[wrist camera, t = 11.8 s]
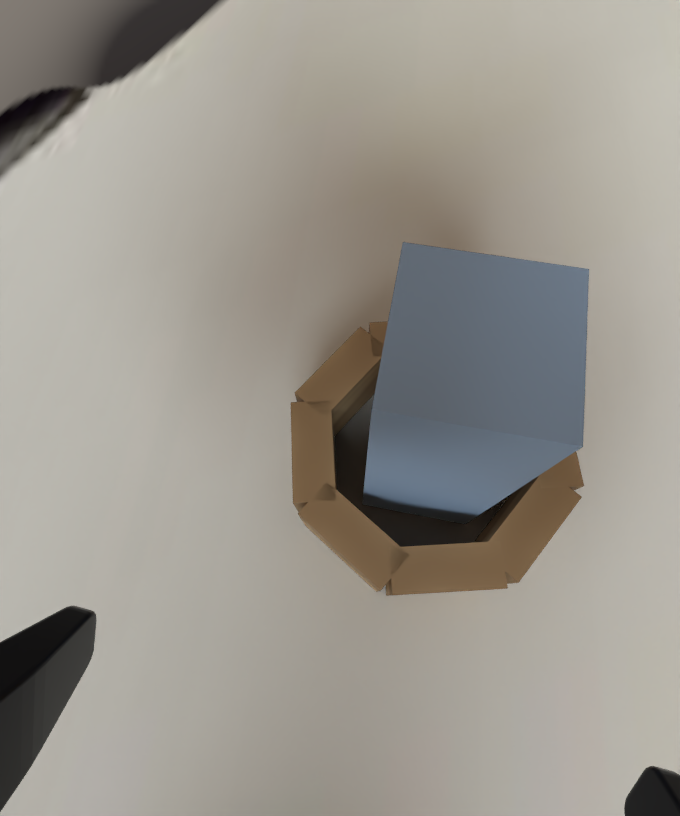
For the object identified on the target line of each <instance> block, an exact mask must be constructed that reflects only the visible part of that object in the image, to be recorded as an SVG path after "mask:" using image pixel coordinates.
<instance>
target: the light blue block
mask: <svg viewBox="0 0 680 816" xmlns="http://www.w3.org/2000/svg"><path fill="white" fill-rule="evenodd" d="M588 281H589V269H584V268H578V267H571V266H564V265H557V264H550V263H543V262H536V261H529V260H522V259H516V258H509V257H502V256H495V255H488V254H481V253H474V252H467V251H460V250H454V249H447V248H440V247H433V246H426V245H419V244H412V243H405V242H403V245H402V250H401V255H400V261H399V266H398V271H397V277H396V282H395V287H394V293H393V298H392V303H391V309H390V314H389V319H388V325H387V330H386V335H385V341H384V346H383V351H382V357H381V362H380V368H379V373H378V378H377V384H376V389H375V394H374V400H373V405H372V411H371V421H370V431H369V441H368V451H367V461H366V471H365V481H364V491H363V501H362V504H363V505H368V506H374V507H379V508H384V509H389V510H394V511H399V512H405V513H410V514H415V515H420V516H425V517H431V518H436V519H441V520H446V521H451V522H456V523H462V524H466V523H468V522H469V521H471V520H472V519H474V518H475V517H477V516H478V515H480V514H481V513H483V512H484V511H486V510H487V509H489V508H490V507H492V506H493V505H495V504H496V503H498V502H500V501H501V500H503V499H504V498H506V497H507V496H509V495H510V494H512V493H513V492H515V491H516V490H518V489H519V488H521V487H522V486H524V485H525V484H527V483H528V482H530V481H531V480H533V479H534V478H536V477H537V476H539V475H541V474H542V473H544V472H545V471H547V470H548V469H550V468H551V467H553V466H554V465H556V464H557V463H559V462H560V461H562V460H563V459H565V458H566V457H568V456H569V455H571V454H572V453H574V452H575V451H577V450H578V449H580V448H582V447H583V429H584V400H585V370H586V340H587V311H588Z"/></svg>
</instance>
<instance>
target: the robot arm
mask: <svg viewBox="0 0 680 816" xmlns="http://www.w3.org/2000/svg"><path fill="white" fill-rule="evenodd" d="M95 629H96V614H95V612H93V611H91V610H88V609H84V608H81V607H77V606H69V607H66V608H64V609H62V610H60V611H58V612H56V613H54V614H53V615H51V616H49V617H47V618H45V619H43V620H41V621H39V622H38V623H36V624H34V625H32V626H30V627H28V628H26V629H24V630H22V631H21V632H19V633H17V634H15V635H13V636H11V637H9V638H7V639H6V640H4V641H2V642H0V812H1V810H2V809H3V807H4V806H5V804H6V803H7V801H8V800H9V798H10V797H11V796H12V794H13V793H14V791H15V790H16V788H17V787H18V785H19V784H20V782H21V781H22V779H23V778H24V776H25V775H26V773H27V772H28V770H29V769H30V767H31V766H32V764H33V762H34V761H35V759H36V757H37V755H38V754H39V752H40V750H41V749H42V747H43V745H44V743H45V741H46V740H47V738H48V736H49V734H50V733H51V731H52V729H53V727H54V725H55V724H56V722H57V720H58V718H59V716H60V715H61V713H62V711H63V709H64V708H65V706H66V704H67V702H68V700H69V699H70V697H71V695H72V693H73V691H74V690H75V688H76V686H77V684H78V683H79V681H80V679H81V677H82V675H83V674H84V672H85V670H86V668H87V666H88V664H89V662H90V660H91V657H92V655H93V651H94V641H95ZM624 809H625V816H680V775H679V774H677V773H675V772H673V771H669V770H666V769H662V768H658V767H655V766H650V767H648V768H646V769H645V770H644V771H643V773H642V774H641V776H640V777H639V779H638V781H637V782H636V784H635V785H634V787H633V788H632V790H631V791H630V793H629V794H628V796H627V798H626V801H625V808H624Z"/></svg>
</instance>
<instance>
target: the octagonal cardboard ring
mask: <svg viewBox="0 0 680 816" xmlns="http://www.w3.org/2000/svg"><path fill="white" fill-rule="evenodd" d="M387 325H388V322H373V323H370V324H369V333H368V332H366V331H365V330H364V329H363V328H361V327H360V328H359V329H358V330H357V331H356V332H355V333H354V334H353V335H352V336H351V337H350V338H349V339H348V340H347V341H346V342H345V343H344V344H343V345H342V346H341V347H340V348H339V349H338V350H337V351H336V352H335V353H334V354H333V355H332V356H331V357H330V358H329V359H328V360H327V361H326V362H325V363H324V364H323V365H322V366H321V367H320V368H319V369H318V370H317V371H316V372H315V373H314V374H313V375H312V376H311V377H310V378H309V379H308V380H307V381H306V382H305V383H304V384H303V385H302V386H301V387H300V388H299V389H298V390H297V391H296V392H295V395H296V399H297V402H291V434H292V480H293V504H294V505H295V507H296V508H297V510H298V512H299V513H298V515H299V516H300V518H301V519H302V521H303V522H304V524H305V525H306V527H307V528H309V529H310V530H311V531H312V532H313V533H314V534H315V535H316V536H317V537H318V538H319V539H320V540H321V541H323V542H324V543H325V544H326V545H327V546H328V547H329V548H330V549H331V550H332V551H333V552H334V553H335V554H336V555H338V556H339V557H340V558H341V559H342V560H343V561H344V562H345V563H346V564H347V565H348V566H349V567H350V568H352V569H353V570H354V571H355V572H356V573H357V574H358V575H359V576H360V577H361V578H362V579H363V580H364V581H365V582H367V583H368V584H369V585H370V586H371V587H372V588H373V589H374V590H375V591H376V592H377V591H381V590H382V588H383V587H384V586H385V585H386V595H403V594H420V593H438V592H455V591H472V590H489V589H505V588H508V587H507V584H508V583H519V581H520V580H521V578H522V577H523V576H524V574H525V573H526V572H527V570H528V569H529V568H530V566H531V565H532V564H533V562H534V561H535V560H536V558H537V557H538V555H539V554H540V553H541V551H542V550H543V549H544V547H545V546H546V545H547V543H548V542H549V541H550V539H551V538H552V537H553V535H554V534H555V532H556V531H557V530H558V528H559V527H560V526H561V524H562V523H563V522H564V520H565V519H566V518H567V516H568V515H569V514H570V512H571V511H572V509H573V508H574V507H575V505H576V504H577V503H578V501H579V500H580V499H581V496H580V495H579V494H577V493H576V492H575V491H574V490H576V489H578V488H580V487H582V486H584V484H583V480H582V475H581V471H580V466H579V462H578V457H577V453H576V451H575V452H574V453H572V454H571V455H569V456H568V457H566V458H565V459H563V460H562V461H560V462H559V463H557V464H556V465H554V466H553V467H551V468H550V469H548V470H547V471H545V472H544V473H542V474H541V475H539V476H537V477H536V478H534V479H533V480H531V481H530V482H528V483H527V484H525V485H524V486H522V487H521V488H519V489H518V490H516V491H515V492H513V493H512V494H511V496H510V497H509V498H508V500H507V501H506V502H505V503H504V505H503V506H502V507H501V509H500V510H499V511H498V512H497V514H496V515H495V516H494V517H493V519H492V520H491V521H490V523H489V524H488V525H487V526H486V528H485V529H484V530H483V531H482V533H481V534H480V535H479V537H478V538H477V539H476V540H475V542H474V543H458V544H440V545H423V546H406V547H400V546H399V545H398V544H397V543H396V542H395V541H393V540H392V539H391V538H390V537H389V536H388V535H387V534H386V533H384V532H383V531H382V530H381V529H380V528H379V527H378V526H377V525H375V524H374V523H373V522H372V521H371V520H370V519H369V518H368V517H366V516H365V515H364V514H363V513H362V512H361V511H360V510H359V509H357V508H356V507H355V506H354V505H353V504H352V503H351V502H350V501H348V500H347V499H346V498H345V497H344V496H343V495H342V494H341V493H339V492H338V491H337V476H336V457H335V438H334V436H335V435H336V434H337V433H338V432H339V431H340V430H341V429H342V428H343V427H344V426H345V425H346V423H347V422H348V421H349V420H350V419H351V418H352V417H353V416H354V415H355V414H356V413H357V412H358V411H359V410H360V409H361V407H362V406H363V405H364V404H365V403H366V402H367V401H368V400H369V399H370V398H371V397H372V396H373V395H374V394H375V389H376V384H377V378H378V373H379V368H380V362H381V357H382V351H383V346H384V341H385V335H386V330H387Z"/></svg>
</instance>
